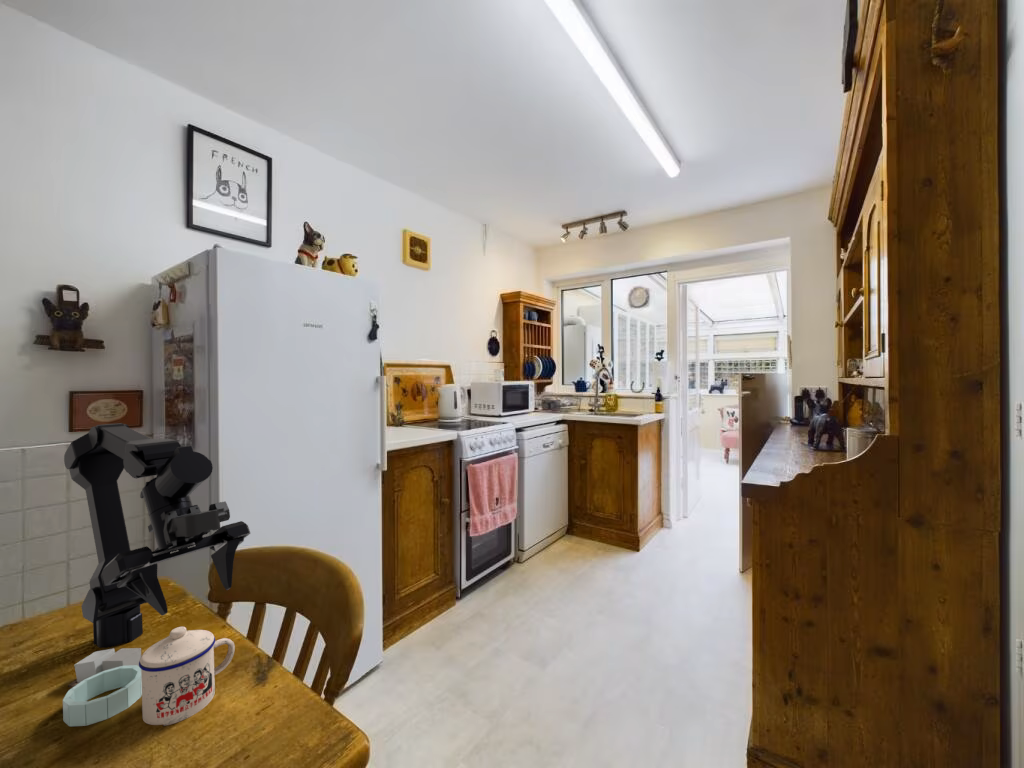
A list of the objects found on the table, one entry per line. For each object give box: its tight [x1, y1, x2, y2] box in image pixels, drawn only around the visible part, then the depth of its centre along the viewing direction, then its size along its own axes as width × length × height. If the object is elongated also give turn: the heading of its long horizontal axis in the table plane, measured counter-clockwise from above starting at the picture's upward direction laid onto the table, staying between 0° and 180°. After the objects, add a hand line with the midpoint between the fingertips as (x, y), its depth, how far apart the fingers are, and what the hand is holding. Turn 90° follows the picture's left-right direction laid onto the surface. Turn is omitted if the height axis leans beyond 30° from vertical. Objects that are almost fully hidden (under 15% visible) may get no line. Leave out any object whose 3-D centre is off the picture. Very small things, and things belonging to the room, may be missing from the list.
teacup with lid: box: [139, 626, 236, 727], centre depth 66 cm, size 12×9×12 cm
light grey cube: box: [74, 647, 116, 683], centre depth 72 cm, size 3×3×3 cm
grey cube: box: [102, 647, 142, 671], centre depth 72 cm, size 3×3×3 cm
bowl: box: [62, 665, 142, 727], centre depth 65 cm, size 9×9×4 cm
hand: (198, 600), depth 68 cm, fingers open, 9 cm apart
